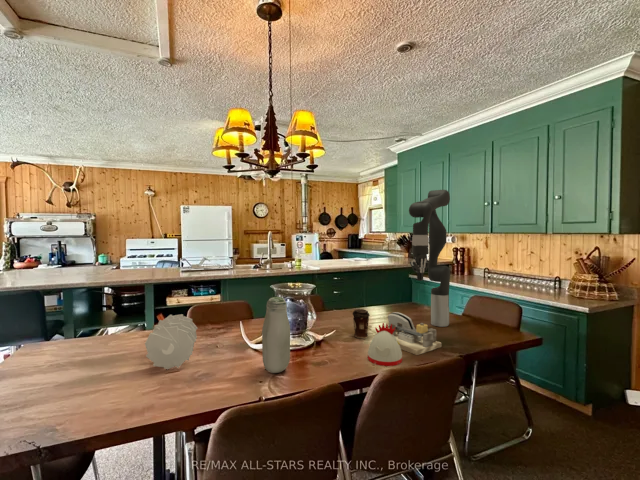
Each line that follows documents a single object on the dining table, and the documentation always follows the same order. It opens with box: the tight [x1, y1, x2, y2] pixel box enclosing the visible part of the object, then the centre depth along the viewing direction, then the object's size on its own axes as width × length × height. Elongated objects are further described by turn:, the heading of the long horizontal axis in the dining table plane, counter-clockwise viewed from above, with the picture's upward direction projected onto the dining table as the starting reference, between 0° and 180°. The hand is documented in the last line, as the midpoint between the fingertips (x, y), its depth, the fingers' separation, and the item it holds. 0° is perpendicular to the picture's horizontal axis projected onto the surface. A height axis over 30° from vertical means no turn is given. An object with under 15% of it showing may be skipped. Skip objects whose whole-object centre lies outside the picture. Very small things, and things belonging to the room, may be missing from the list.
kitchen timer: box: [367, 322, 403, 367], centre depth 133 cm, size 14×14×15 cm
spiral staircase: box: [144, 313, 199, 370], centre depth 132 cm, size 18×18×25 cm
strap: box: [396, 325, 425, 337], centre depth 151 cm, size 3×17×1 cm, turn 35°
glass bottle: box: [261, 296, 291, 374], centre depth 121 cm, size 10×10×28 cm
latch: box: [415, 322, 429, 333], centre depth 145 cm, size 4×3×4 cm
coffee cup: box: [352, 308, 370, 339], centre depth 162 cm, size 9×8×13 cm
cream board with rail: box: [392, 322, 442, 356], centre depth 151 cm, size 17×22×8 cm
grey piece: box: [387, 311, 416, 330], centre depth 173 cm, size 17×5×10 cm, turn 29°
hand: (420, 280), depth 156 cm, fingers closed
